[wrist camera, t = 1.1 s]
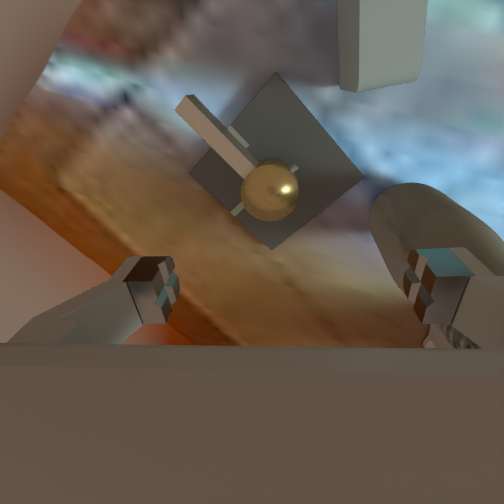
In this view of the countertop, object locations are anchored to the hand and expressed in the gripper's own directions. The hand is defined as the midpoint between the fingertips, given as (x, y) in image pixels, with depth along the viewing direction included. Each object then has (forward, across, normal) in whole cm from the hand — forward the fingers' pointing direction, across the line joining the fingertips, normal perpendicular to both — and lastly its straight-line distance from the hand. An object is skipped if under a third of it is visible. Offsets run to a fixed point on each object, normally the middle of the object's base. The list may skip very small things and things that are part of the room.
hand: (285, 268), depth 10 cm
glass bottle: (+34, -17, +13) cm, 41 cm away
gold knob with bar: (+29, +5, +2) cm, 29 cm away
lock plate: (+35, +2, +6) cm, 36 cm away
